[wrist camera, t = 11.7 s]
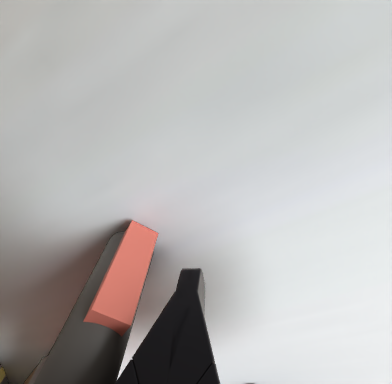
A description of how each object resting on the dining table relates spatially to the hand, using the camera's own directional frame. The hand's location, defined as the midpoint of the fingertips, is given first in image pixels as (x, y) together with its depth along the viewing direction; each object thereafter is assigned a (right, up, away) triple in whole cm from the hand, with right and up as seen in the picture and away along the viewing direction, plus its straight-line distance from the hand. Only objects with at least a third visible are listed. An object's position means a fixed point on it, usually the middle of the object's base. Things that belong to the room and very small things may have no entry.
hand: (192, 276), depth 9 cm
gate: (-6, -4, +5) cm, 9 cm away
